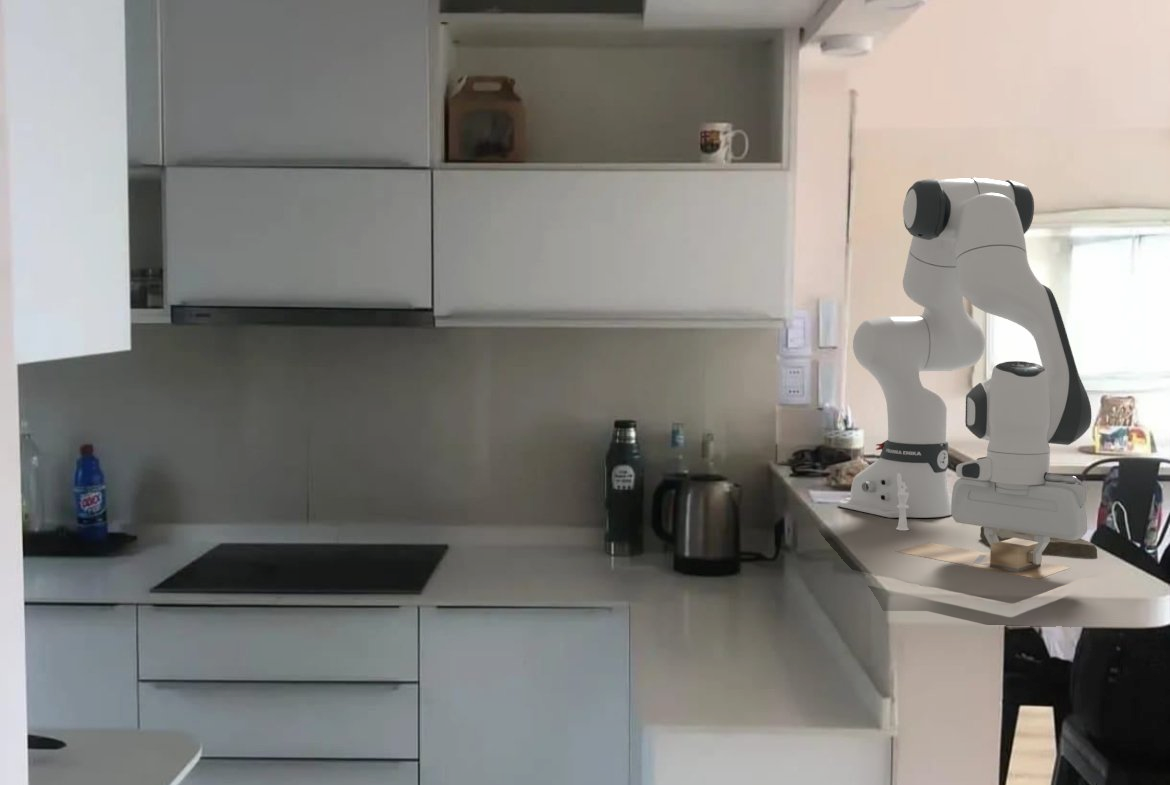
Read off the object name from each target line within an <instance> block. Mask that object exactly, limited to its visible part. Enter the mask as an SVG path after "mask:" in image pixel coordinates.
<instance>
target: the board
mask: <svg viewBox="0 0 1170 785" xmlns="http://www.w3.org/2000/svg"><path fill="white" fill-rule="evenodd" d="M894 552H895V553H898V554H906V555H910V556H916V557H920V558H927V559H931V560H936V561H941V562H947V563H951V564H952V563H953V564H958V565H962V566H969V567H974V568H978V569H985V570H989V571H993V572H1000V573H1005V574H1010V575H1016V576H1020V577H1021V576H1022V577H1026V578H1031V579H1037V580H1039V579H1043V578H1045V577H1049V576H1051V575H1054V574H1058V573H1060V572H1063V571H1066V570H1070V567H1069V566H1062V565H1058V564H1051V563H1046V562H1041V565H1039V566H1035V567H1032V568H1029V569H1026V570H1023V571H1020V572H1014V571H1009V570H1003V569H998V568H993V567H990V552H983V551H979V550H974V549H967V548H962V547H957V546H950V545H945V544H942V543H941V544H940V543H933V542H926V543H922V544H918V545H914V546H910V547H907V548H903V549H900V550H899V549H898V550H895V551H894Z"/></svg>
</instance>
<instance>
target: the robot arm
mask: <svg viewBox="0 0 1170 785" xmlns="http://www.w3.org/2000/svg"><path fill="white" fill-rule="evenodd" d="M1034 214H1035V201H1034V196H1033V193H1032V192H1031V190H1030V188H1029V187H1028V186H1027V185H1026V184H1023V183H1020V182H1017V181H1013V180H1004V181H1003V180H995V179H991V178H979V177H969V178H947V179H946V178H945V179H937V178H927V179H922V180H918V181H916V182H914V183H913V184H912V185H911V187H909V189H908V191H907V192H906V195H905V198H904V202H903V206H902V217H903V223H904V227H905V229H906V230H907V232H908V233H909V234H910V235H911V236H912V239H911V242H910V247H909V251H908V255H907V259H906V260H907V261H906V264H905V268H904V272H903V277H902V278H903V279H902V288H903V290H904V293H905V294H906V296H907V297H908V298H909V300H911V301H913V302H914V303H915V304H917V305H919V306H921V307H922V308H924V310H923V312H922V314H920V315H919V314H918V315H887V316H880V317H875V318H872V319H871V318H870V319H868V320H864V321H862V323H860V325H859V326H858V327H857V329H856V330H855V333H854V335H853V340H852V350H853V354H854V356H855V358H856V360H857V362H858V364H860V365H861V366H862V367H863V368H864V369H865V370H867V371H868V372H869V373H870V374H871V375H872V376H873V377H874V378H875V380H876V381H877V383H878V384H879V386H880V387H881V390H882V392H883V394H884V398H885V402H886V411H887V440H885V441H883V442H882V443H877V444H875V446H877V448H875V450H876V451H879V450H881V452H880V455H879V458H877V460H876V461H873V463H871V464H870V465H868V466H867V467H865V468H864V469H863V470H861V471H860V472H858V473H857V474H856V475H855V476H854V478H853V480H852V484H851V488H850V494H849V495H850V496H849V497H846V498H842V499H840V500H839V501H838V502H839V503H838V507H841V508H844V509H849V510H855V511H858V512H864V513H867V514H871V515H877V516H881V517H886V518H894V519H895V518H898V519H899V515H900V508H897V505H900V501H899V498H898V495H897V493H898V492H901V488H899V485H902V482H905V486H907V489H905V492H908V493H909V496H908V499H907V502H906V505H908V506H909V508H906V518H924V519H925V518H926V519H927V518H928V519H929V518H942V517H948V516H951V517H952V518H953V520H954V521H955V523H958V524H963V525H965V524H966V525H969V526H970V525H972V526H978V527H982V526H983V527H984V535H985V537H986V539H987V540H988V542H989V544H990V545H991V544H993V543H997V542H999V539H998V537H997V535H996V533H999V529H1002V530H1008V531H1014V532H1021V533H1027V534H1033V535H1034V541H1035V542H1038V544H1037V545H1036V547H1035V549H1034V550H1032V551H1028V552H1027V557H1028V558H1027V563H1031V564H1036V565H1038V564H1041V563H1043V554H1042V552H1043V551H1044V549H1045V548H1046V546H1047V545H1048V543H1049V542H1050V537H1052V538H1059V539H1065V540H1077V539H1080V538H1081V539H1083V537H1084V536H1085V535H1086V534H1087V532H1088V521H1087V520H1088V518H1087V516H1088V515H1087V507H1086V502H1087V493H1088V492H1087V487H1086V484H1084V482H1082V481H1081V480H1080V479H1078V477H1076V476H1074V475H1061V474H1057V473H1050V472H1051V471H1050V465H1051V462H1050V461H1051V449H1050V448H1051V447H1050V444H1051V445H1052V444H1053V445H1064V446H1065V445H1066V446H1069V445H1071V444H1073V443H1074V442H1076V441H1077V440H1078V439H1080V438H1081V437H1083V436H1084V435H1085V433H1086V432H1087V431H1088V430H1089V428H1090V427H1091V424H1092V406H1091V401H1090V399H1089V395H1088V393H1087V391H1086V390H1087V389H1086V388H1085V386H1084V383H1083V382H1082V378H1081V377H1080V374H1079V371H1078V368H1077V364H1076V361H1075V358H1074V355H1073V351H1072V348H1071V344H1070V341H1069V338H1068V337H1069V336H1068V334H1067V329H1066V327H1065V323H1064V321H1063V317H1062V314H1061V310H1060V308H1059V305H1058V304H1059V303H1057V300H1056V297H1055V295H1054V293H1053V291H1052V290H1051V288H1050V287H1047V286H1046V285H1044V284H1042V283H1041V282H1040V281H1039V279H1038V278H1037V277H1036V276H1035V274H1034V272H1033V271H1032V268H1031V266H1030V264H1029V261H1028V260H1029V259H1028V253H1027V246H1026V239H1025V234H1026V233H1027V232H1028V231H1029V229H1030V227H1031V226H1032V223H1033V219H1034ZM964 298H965V299H966V300H967V301H968V303H969V304H971V305H973V306H974V307H975V308H977V309H979V310H981V311H983V312H985V313H987V314H990V315H993V316H997V317H998V318H1002V319H1005V320H1008V321H1010V322H1012V323H1014V324H1017V325H1018V326H1020V327H1022V328H1024V329H1025V330H1026V331H1028V332H1029V334H1031V336H1032V337H1033V339H1034V341H1035V343H1036V348H1037V350H1038V351H1037V352H1038V354H1039V359H1040V362H1041V365H1040V364H1038V363H1035V362H1029V361H1019V360H1016V361H1013V360H1011V361H1004V362H1000V363H997V364H996V365H995V366H994V367H993V369H992V372H991V378H989V379H988V380H986V381H984V382H978V383H977V384H976V385H975V386H974V387H973V388H972V389H971V390H970V391H969V392H968V393H966V394H965V419H964V422H965V427H966V428H967V429H968V430H969V431H970V433H972V434H973V435H974V437H976V438H978V439H979V440H985V441H988V444H987V449H986V450H987V453H986V455H987V456H984V457H979V458H978V457H977V458H976V459H975V460H974V459H973V460H970V461H969V460H968V461H965V462H961V463H959V464H957V465H956V467H955V473H956V476H957V477H958V479H956V481H955V483H954V484H953V488H952V492H951V499H950V493H949V492H950V491H949V484H948V476H947V474H948V473H947V471H948V466H949V464H948V463H949V443H948V441H947V405H946V403H945V401H944V399H943V398H942V397H941V396H940V395H938V394H937V393H935V392H933V391H932V390H930V389H927V388H925V387H924V386H923V384H922V382H921V380H920V372H952V371H957V370H962V369H967V368H971V367H974V366H975V365H976V364H977V363H978V362H979V361H980V359H982V356H983V355H984V352H985V346H986V339H985V335H984V332H983V330H982V327H981V326H980V325H979V323H978V322H977V321H976V320H974V319H973V318H972V317H971V316H970V314H968V312H967V310H966V309H967V308H965V304H964ZM990 545H989V546H990Z"/></svg>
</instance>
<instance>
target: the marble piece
mask: <svg viewBox="0 0 1170 785" xmlns="http://www.w3.org/2000/svg"><path fill="white" fill-rule="evenodd" d="M996 535H997V537H998V539H999V542H1000V541H1004V540H1008V539H1011V538H1019V539H1025V540H1031V541H1034V535H1033V534H1027V533H1021V532H1014V531H1008V530H1002V529H999V533H996ZM979 537H980V539H981V541H982V542H984V543H985V544H986V545H988V546H990V547H991V545H990V544H989V542H988V540H987V539H986V537H985V535H984V527H983V526H980V535H979ZM1042 555H1058V556H1069V557H1070V556H1071V557H1081V558H1093V559H1094V558H1098V548H1097V546H1095V544H1094V543H1092V542H1090V541H1088V540H1085V539H1083V538H1080V539H1077V540H1065V539H1059V538H1052V537H1050V542H1049V543H1048V545H1047V546H1046V548H1045V549H1044V551H1043V552H1042Z"/></svg>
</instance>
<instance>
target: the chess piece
mask: <svg viewBox="0 0 1170 785" xmlns="http://www.w3.org/2000/svg"><path fill="white" fill-rule="evenodd" d="M899 488H901V492H898V493H897V495H898V498H899V501H900V505H897V508H900V515H899V518H898V523H897V524H898V525H897V527H896V528H895V529H896V531H901V532H906V531H910V528H909V527H908V522H907V520H908V519H907V517H906V508H909V506H908V505H906V502H907V499H908V496H909V493H908V492H905V489H907V486H905V482H902V485H899Z"/></svg>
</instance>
